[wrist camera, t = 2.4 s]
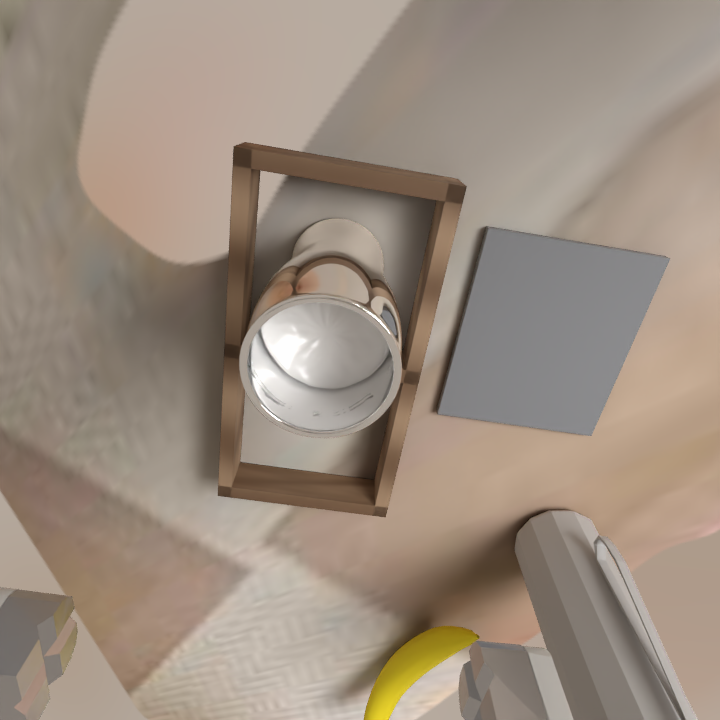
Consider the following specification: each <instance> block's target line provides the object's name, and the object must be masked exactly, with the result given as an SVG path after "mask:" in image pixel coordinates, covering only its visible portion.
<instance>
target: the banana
mask: <svg viewBox="0 0 720 720" xmlns="http://www.w3.org/2000/svg"><path fill="white" fill-rule="evenodd" d="M479 638H480V637H479V635H477V634H475V633H474V632H473V631H472V630H469V629H466V628H463V627H455V626H441V627H435V628H432V629H430V630H427V631H425V632H423V633H421V634H419V635H417V636H416V637H414V638H412V639H411V640H410V641H408V642H407V643H405V644H404V645H403V646H402V647H401V648H400V649H398V650H397V651H396V652H395V653H394V655H393V656H392V657H391V658H390V659H389V660H388V662H387V663H386V664H385V666H384V667H383V669H382V670H381V672H380V674H379V676H378V678H377V679H376V682H375V684H374V686H373V689H372V691H371V694H370V697H369V700H368V703H367V706H366V710H365V715H364V720H389V718H390V716H391V714H392V712H393V710H394V708H395V706H396V704H397V702H398V701H399V699H400V698H401V696H402V695H403V694H404V693H405V692H406V691H407V689H408V688H409V687H410V686H411V685H413V684H414V683H415V682H416V681H417V680H418V679H419V678H420V677H422V676H423V675H424V674H425V673H427V672H428V671H429V670H431V669H432V668H433V667H435V666H436V665H438V664H439V663H441V662H442V661H444V660H446V659H447V658H449V657H450V656H452V655H453V654H455V653H457V652H458V651H460V650H461V649H463V648H465V647H467V646H469V645H471V644H472V643H474V642H475V641H476V640H477V639H479Z"/></svg>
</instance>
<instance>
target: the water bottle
mask: <svg viewBox="0 0 720 720" xmlns="http://www.w3.org/2000/svg"><path fill="white" fill-rule="evenodd" d="M607 549H608V550H607ZM514 550H515V553H516V556H517V559H518V562H519V565H520V568H521V571H522V574H523V577H524V580H525V583H526V587H527V590H528V593H529V596H530V599H531V602H532V605H533V608H534V611H535V614H536V617H537V620H538V623H539V626H540V629H541V632H542V635H543V638H544V641H545V644H546V647H547V650H548V651H549V653H550V654H551V656H552V659H553V662H554V665H555V668H556V671H557V673H558V676H559V679H560V682H561V685H562V688H563V691H564V694H565V697H566V699H567V702H568V705H569V708H570V711H571V714H572V717H573V720H698V718H697V716H696V715H695V713H694V711H693V709H692V707H691V705H690V703H689V702H688V700H687V698H686V696H685V693H684V692H683V689H682V687H681V684H680V682H679V680H678V678H677V675H676V673H675V671H674V669H673V667H672V665H671V662H670V660H669V658H668V655H667V653H666V651H665V649H664V647H663V644H662V642H661V640H660V638H659V635H658V633H657V631H656V629H655V626H654V624H653V622H652V620H651V617H650V615H649V613H648V611H647V609H646V606H645V604H644V602H643V600H642V597H641V595H640V593H639V591H638V588H637V586H636V584H635V582H634V579H633V577H632V575H631V573H630V570H629V568H628V566H627V564H626V562H625V560H624V558H623V557H622V555H621V554H620V552H619V551H618V549H617V548H616V546H615V545H614V544H613V543H612V542H611V540H610V539H609V538H608V537H605V536H600V535H599V534H598V532H597V530H596V528H595V526H594V524H593V522H592V521H591V519H589V518H587V517H585V516H583V515H580V514H578V513H576V512H574V511H570V510H549V511H546V512H544V513H542V514H539V515H537V516H534V517H532V518H530V519H529V520H528V521H527V523H526V524H525V525H524V526H523V527H522V528H521V529H520V530H519V531H518V533H517V537H516V543H515V549H514ZM608 551H609V552H610V554H611V556H612V557H613V559H614V560H615V562H616V565H617V567H618V569H619V571H620V573H619V571H618V569H617V567H616V565H615V563H614V562H613V560H612V558H611V556H610V554H609V552H608ZM620 574H621V575H620Z"/></svg>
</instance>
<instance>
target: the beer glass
mask: <svg viewBox="0 0 720 720" xmlns="http://www.w3.org/2000/svg"><path fill="white" fill-rule="evenodd" d="M383 270H384V258H383V253H382V250H381V247H380V245H379V243H378V241H377V240H376V238H375V237H374V236H373V234H372V233H371V232H370V231H369V230H368V229H366V228H365V227H364V226H362V225H360V224H358V223H356V222H354V221H351V220H347V219H341V218H333V219H326V220H323V221H320V222H317V223H315V224H314V225H312V226H310V227H309V228H308V229H307V230H305V231H304V232H303V234H302V235H301V236H300V237H299V239H298V240H297V242H296V244H295V247H294V250H293V254H292V259H291V260H289V261H288V262H287V263H286V264H285V265H284V266H282V267H281V268H280V269H279V270H278V271H277V272H276V273H275V274H274V275H273V277H272V278H271V279H270V281H269V282H268V284H267V285H266V287H265V289H264V290H263V292H262V293H261V295H260V297H259V299H258V302H257V304H256V306H255V309H254V311H253V314H252V317H251V320H250V323H249V326H248V330H247V334H246V336H245V338H244V340H243V343H242V346H241V351H240V357H239V370H240V376H241V381H242V384H243V387H244V389H245V391H246V394H247V395H248V397H249V399H250V400H251V402H252V403H253V405H254V406H255V407H256V408H257V410H258V411H259V412H260V413H261V414H262V415H263V416H265V417H266V418H267V419H268V420H270V421H271V422H272V423H274V424H275V425H277V426H279V427H281V428H283V429H285V430H287V431H289V432H292V433H295V434H298V435H302V436H306V437H312V438H335V437H341V436H346V435H349V434H352V433H355V432H358V431H360V430H362V429H364V428H366V427H368V426H369V425H371V424H372V423H374V422H375V421H376V420H378V419H379V418H380V417H381V416H382V415H383V414H384V413H385V412H386V411H387V409H388V408H389V407H390V405H391V404H392V402H393V401H394V399H395V397H396V395H397V392H398V389H399V386H400V382H401V376H402V361H401V354H402V333H401V321H400V315H399V311H398V307H397V303H396V299H395V296H394V294H393V292H392V290H391V288H390V286H389V284H388V282H387V280H386V279H385V277H384V276H383Z"/></svg>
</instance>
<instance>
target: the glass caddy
mask: <svg viewBox="0 0 720 720" xmlns="http://www.w3.org/2000/svg"><path fill="white" fill-rule="evenodd" d="M260 170H261V171H267V172H273V173H280V174H285V175H291V176H297V177H303V178H308V179H314V180H320V181H326V182H332V183H338V184H344V185H350V186H356V187H361V188H367V189H373V190H379V191H385V192H391V193H397V194H403V195H409V196H414V197H420V198H426V199H432V200H437V201H436V205H435V210H434V214H433V219H432V223H431V228H430V232H429V237H428V241H427V246H426V250H425V255H424V259H423V264H422V268H421V273H420V277H419V282H418V286H417V291H416V295H415V300H414V304H413V309H412V313H411V318H410V322H409V327H408V331H407V336H406V340H405V345H404V349H403V350H402V354H401V361H402V376H401V382H400V386H399V389H398V392H397V395H396V397H395V399H394V401H393V402H392V404H391V408H390V412H389V417H388V421H387V426H386V430H385V435H384V439H383V444H382V448H381V453H380V457H379V462H378V466H377V471H376V475H375V480H370V479H362V478H355V477H347V476H340V475H332V474H325V473H317V472H309V471H302V470H294V469H287V468H279V467H272V466H264V465H257V464H249V463H242V462H240V457H241V443H242V428H243V414H244V399H245V389H244V387H243V384H242V381H241V376H240V370H239V357H240V351H241V346H242V343H243V340H244V338H245V336H246V334H247V330H248V326H249V323H250V312H251V298H252V283H253V268H254V254H255V239H256V225H257V210H258V195H259V181H260ZM466 187H467V186H465V185H464V184H463V183H462V182H461V181H460V180H459V179H455V178H449V177H444V176H438V175H432V174H426V173H421V172H415V171H409V170H403V169H397V168H392V167H386V166H380V165H374V164H369V163H363V162H357V161H351V160H345V159H340V158H334V157H328V156H322V155H317V154H311V153H305V152H299V151H293V150H288V149H282V148H276V147H270V146H264V145H259V144H253V143H247V142H244V143H242V144H239V145H236V146H234V152H233V174H232V195H231V217H230V239H229V240H230V241H229V261H228V283H227V305H226V327H225V349H224V371H223V392H222V414H221V436H220V458H219V480H218V496H224V497H231V498H239V499H247V500H255V501H263V502H270V503H278V504H286V505H294V506H302V507H309V508H317V509H325V510H333V511H341V512H348V513H356V514H364V515H372V516H380V517H386V513H387V509H388V505H389V501H390V497H391V493H392V489H393V485H394V480H395V476H396V472H397V468H398V464H399V460H400V456H401V452H402V448H403V444H404V440H405V436H406V432H407V427H408V423H409V419H410V415H411V411H412V407H413V403H414V399H415V395H416V391H417V387H418V383H419V378H420V374H421V370H422V366H423V362H424V358H425V354H426V350H427V346H428V342H429V338H430V334H431V330H432V325H433V321H434V317H435V313H436V309H437V305H438V301H439V297H440V293H441V289H442V285H443V281H444V277H445V272H446V268H447V264H448V260H449V256H450V252H451V248H452V244H453V240H454V236H455V232H456V228H457V223H458V219H459V215H460V211H461V207H462V203H463V199H464V195H465V191H466Z"/></svg>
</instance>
